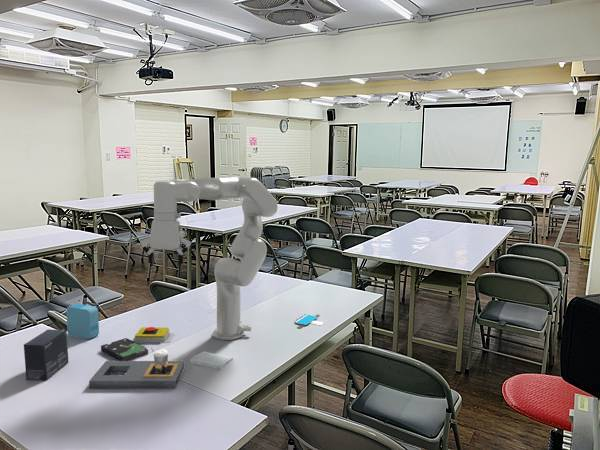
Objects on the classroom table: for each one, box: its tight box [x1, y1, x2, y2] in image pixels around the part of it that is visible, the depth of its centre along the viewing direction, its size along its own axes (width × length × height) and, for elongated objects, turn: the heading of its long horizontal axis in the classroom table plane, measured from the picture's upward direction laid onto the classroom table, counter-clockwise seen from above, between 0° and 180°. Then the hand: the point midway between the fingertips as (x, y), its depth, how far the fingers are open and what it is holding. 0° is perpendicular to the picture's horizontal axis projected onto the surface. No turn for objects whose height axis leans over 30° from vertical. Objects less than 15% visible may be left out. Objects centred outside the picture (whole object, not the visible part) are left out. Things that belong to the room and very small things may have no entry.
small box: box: [23, 329, 69, 381], centre depth 146 cm, size 13×7×12 cm, turn 178°
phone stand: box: [294, 313, 325, 329], centre depth 200 cm, size 20×12×2 cm, turn 152°
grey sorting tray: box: [88, 360, 186, 390], centre depth 144 cm, size 26×14×3 cm, turn 94°
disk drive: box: [100, 337, 149, 361], centre depth 163 cm, size 10×3×15 cm
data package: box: [66, 303, 100, 340], centre depth 176 cm, size 12×4×12 cm, turn 69°
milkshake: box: [150, 347, 169, 375], centre depth 144 cm, size 4×5×10 cm
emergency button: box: [131, 326, 175, 344], centre depth 177 cm, size 9×4×15 cm
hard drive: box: [189, 351, 234, 370], centre depth 158 cm, size 2×8×12 cm
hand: (166, 265), depth 157 cm, fingers open, 9 cm apart
